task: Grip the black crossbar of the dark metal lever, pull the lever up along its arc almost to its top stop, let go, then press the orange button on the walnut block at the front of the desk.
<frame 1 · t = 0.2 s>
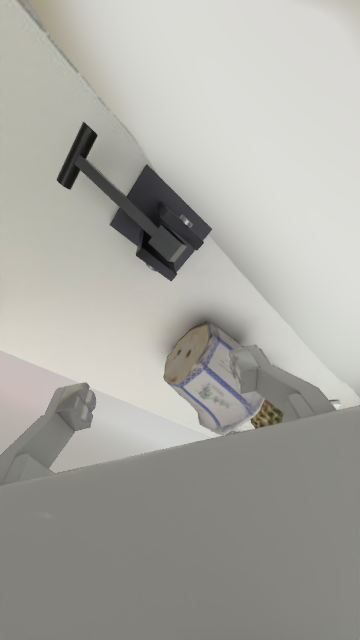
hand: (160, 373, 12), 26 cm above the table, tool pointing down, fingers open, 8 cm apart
potted plant: (223, 358, 48), on the table
bracket: (162, 225, 31), on the table
lever: (124, 203, 21), point 9 cm above the table, hinge at -28.0°
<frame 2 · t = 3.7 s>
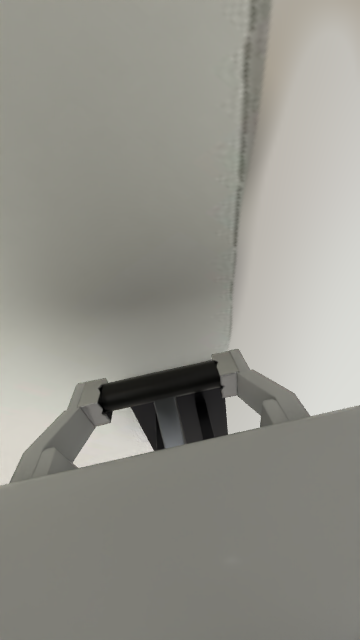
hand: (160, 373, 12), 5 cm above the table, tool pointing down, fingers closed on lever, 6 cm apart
bracket: (182, 407, 22), on the table
lever: (188, 498, 12), point 9 cm above the table, hinge at -28.1°, touching gripper
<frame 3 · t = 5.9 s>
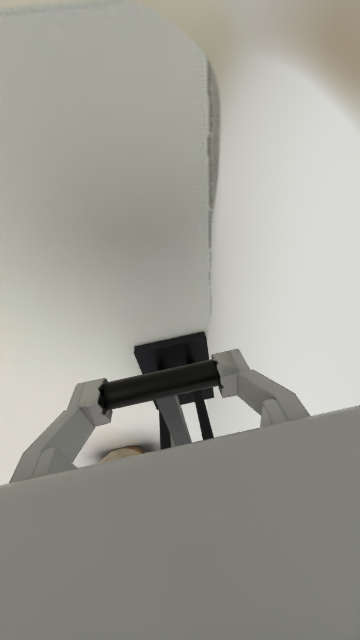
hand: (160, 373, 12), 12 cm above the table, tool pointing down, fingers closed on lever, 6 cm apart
potted plant: (139, 473, 45), on the table
bracket: (177, 371, 29), on the table
lever: (182, 438, 15), point 12 cm above the table, hinge at 3.7°, touching gripper
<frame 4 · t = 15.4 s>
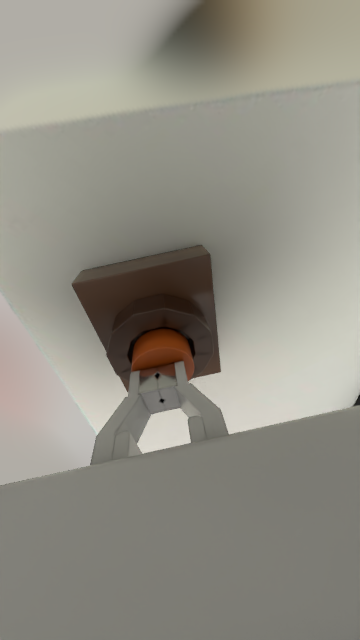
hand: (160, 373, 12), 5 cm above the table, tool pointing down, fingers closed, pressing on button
button block: (159, 319, 16), on the table
button: (162, 360, 12), point 5 cm above the table, slide at 0.2 cm, touching gripper
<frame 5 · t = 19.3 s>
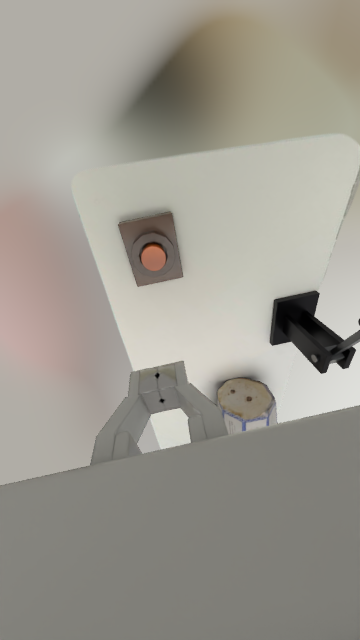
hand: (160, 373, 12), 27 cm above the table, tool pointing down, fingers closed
button block: (153, 249, 34), on the table
potted plant: (234, 404, 62), on the table
button: (153, 257, 30), point 5 cm above the table, slide at 0.2 cm
bracket: (291, 318, 46), on the table
lever: (352, 340, 31), point 15 cm above the table, hinge at 25.4°
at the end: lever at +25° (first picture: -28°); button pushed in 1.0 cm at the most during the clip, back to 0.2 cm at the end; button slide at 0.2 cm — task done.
